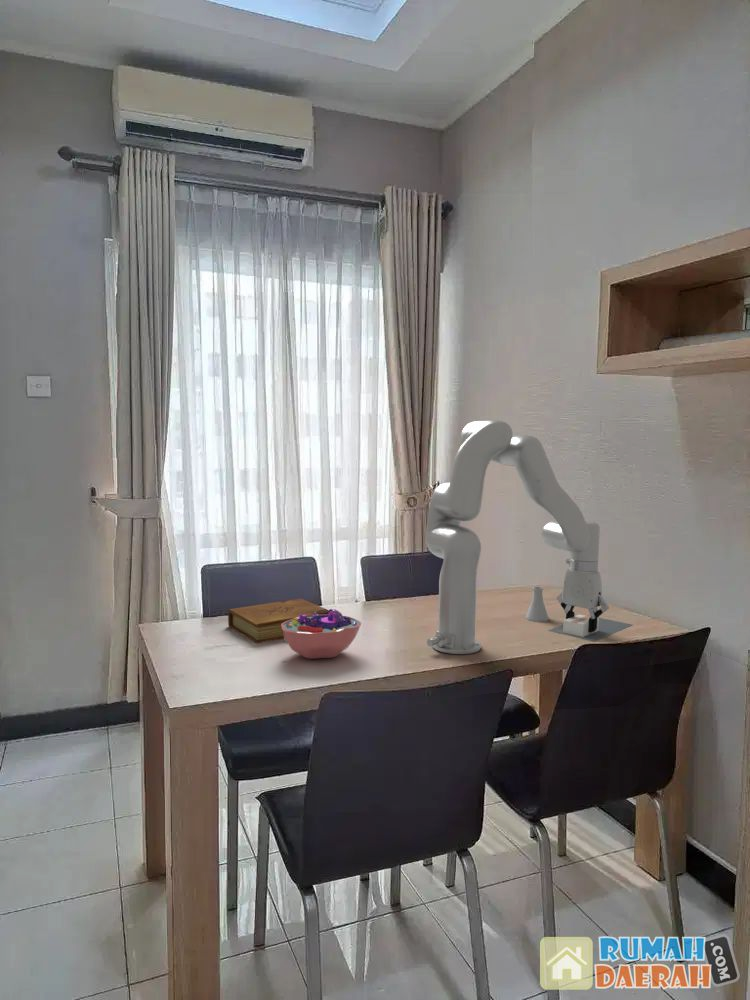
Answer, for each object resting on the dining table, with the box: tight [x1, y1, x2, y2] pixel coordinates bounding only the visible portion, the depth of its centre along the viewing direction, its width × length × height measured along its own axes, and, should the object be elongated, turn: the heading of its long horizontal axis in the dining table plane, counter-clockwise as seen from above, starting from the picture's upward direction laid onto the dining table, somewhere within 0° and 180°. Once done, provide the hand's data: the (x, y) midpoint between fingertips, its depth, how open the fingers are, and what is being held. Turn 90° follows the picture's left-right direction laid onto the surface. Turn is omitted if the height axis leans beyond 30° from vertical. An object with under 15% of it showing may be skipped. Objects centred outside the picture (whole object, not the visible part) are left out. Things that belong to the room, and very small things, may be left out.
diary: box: [227, 598, 330, 644], centre depth 193 cm, size 23×19×6 cm
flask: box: [524, 586, 550, 623], centre depth 205 cm, size 7×7×10 cm
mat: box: [547, 616, 633, 643], centre depth 196 cm, size 24×14×1 cm, turn 135°
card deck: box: [562, 614, 599, 637], centre depth 192 cm, size 9×6×4 cm, turn 135°
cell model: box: [281, 608, 362, 660], centre depth 170 cm, size 17×20×11 cm
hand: (580, 628), depth 192 cm, fingers closed on card deck, 5 cm apart
